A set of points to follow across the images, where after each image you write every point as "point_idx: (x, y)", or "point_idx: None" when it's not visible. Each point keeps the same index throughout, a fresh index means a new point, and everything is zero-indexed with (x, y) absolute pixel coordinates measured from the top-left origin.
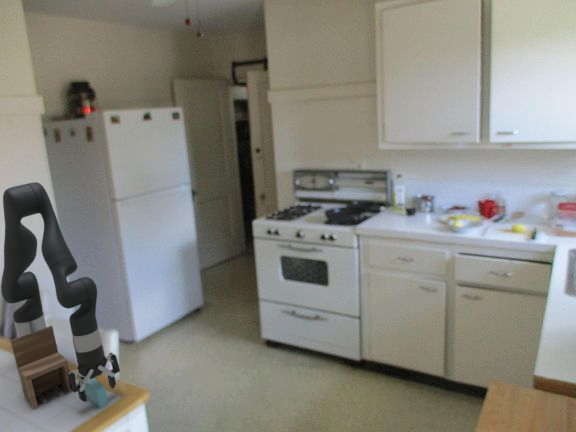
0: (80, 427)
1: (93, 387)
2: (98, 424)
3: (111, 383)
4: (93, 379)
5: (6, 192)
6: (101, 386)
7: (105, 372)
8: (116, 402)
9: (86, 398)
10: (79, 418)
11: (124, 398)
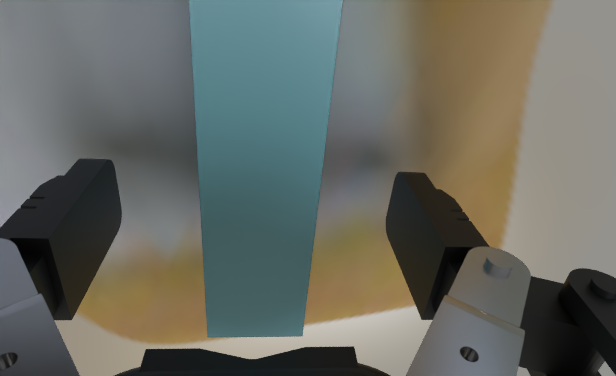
0: None
1: (208, 259)
2: (149, 336)
3: (401, 263)
4: (302, 76)
5: None
6: (283, 306)
7: None
8: (338, 236)
9: (110, 244)
10: None
11: None
